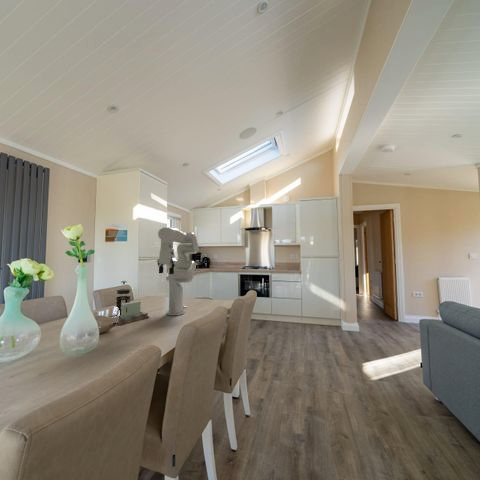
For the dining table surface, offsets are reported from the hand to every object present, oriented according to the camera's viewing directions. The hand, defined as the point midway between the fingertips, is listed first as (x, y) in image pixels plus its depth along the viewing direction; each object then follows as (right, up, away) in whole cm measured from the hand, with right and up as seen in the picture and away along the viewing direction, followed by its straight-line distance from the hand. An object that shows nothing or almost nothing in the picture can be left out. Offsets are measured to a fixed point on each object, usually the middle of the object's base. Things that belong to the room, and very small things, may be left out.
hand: (166, 273), depth 155 cm
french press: (-35, -31, +15) cm, 49 cm away
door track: (-23, -30, +1) cm, 38 cm away
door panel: (-23, -29, +2) cm, 37 cm away
